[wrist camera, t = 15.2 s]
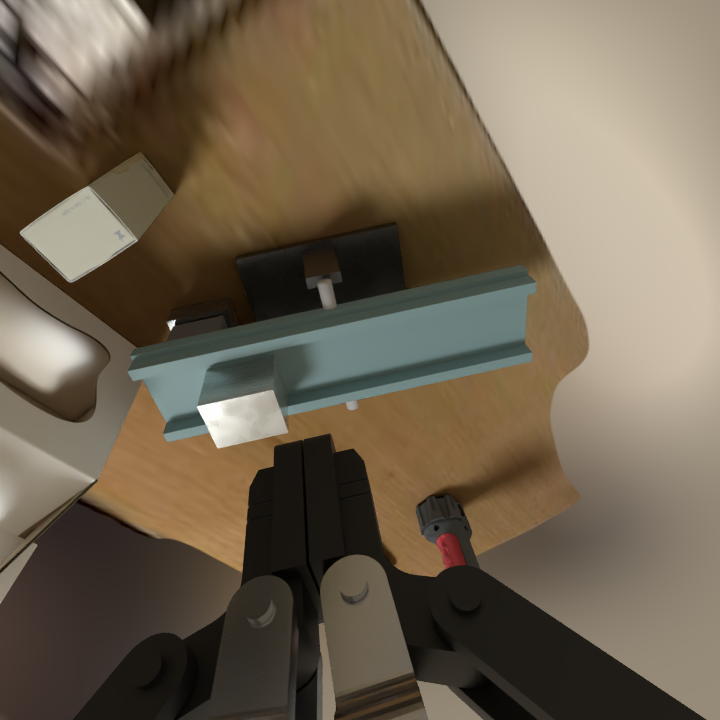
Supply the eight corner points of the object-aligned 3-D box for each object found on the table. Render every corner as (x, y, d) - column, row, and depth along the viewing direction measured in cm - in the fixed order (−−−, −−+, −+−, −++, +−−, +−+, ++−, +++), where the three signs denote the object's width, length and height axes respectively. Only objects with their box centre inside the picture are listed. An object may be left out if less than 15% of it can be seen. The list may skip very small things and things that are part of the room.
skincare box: (141, 150, 38) (89, 179, 28) (177, 197, 40) (141, 240, 30) (83, 188, 39) (13, 230, 29) (121, 232, 41) (69, 285, 31)
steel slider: (206, 370, 39) (196, 406, 35) (274, 355, 39) (273, 389, 35) (224, 410, 41) (217, 448, 37) (288, 396, 42) (288, 432, 37)
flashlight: (396, 507, 68) (439, 677, 49) (438, 481, 66) (499, 647, 47) (423, 529, 72) (473, 694, 53) (464, 504, 70) (530, 667, 51)
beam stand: (155, 273, 44) (132, 310, 37) (395, 222, 44) (414, 249, 38) (209, 392, 52) (199, 439, 46) (410, 347, 53) (428, 388, 46)
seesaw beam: (140, 294, 42) (110, 342, 35) (495, 218, 43) (538, 249, 35) (195, 405, 49) (179, 463, 42) (495, 339, 50) (530, 385, 43)
